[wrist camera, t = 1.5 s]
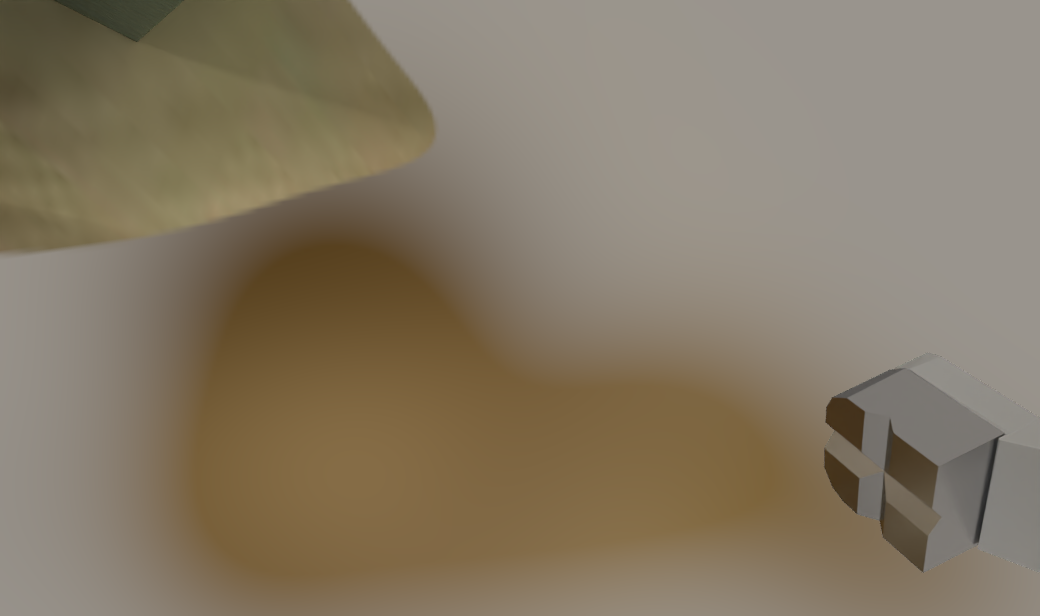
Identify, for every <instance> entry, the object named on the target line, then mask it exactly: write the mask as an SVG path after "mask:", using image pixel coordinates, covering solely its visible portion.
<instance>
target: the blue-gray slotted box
mask: <svg viewBox="0 0 1040 616" xmlns="http://www.w3.org/2000/svg"><path fill="white" fill-rule="evenodd" d="M55 1H57V2H59V3H61V4H63V5H65V6H67V7H69V8H71V9H73V10H75V11H77V12H79V13H81V14H83V15H85V16H87V17H89V18H91V19H93V20H95V21H97V22H99V23H101V24H103V25H105V26H107V27H109V28H111V29H113V30H115V31H117V32H118V33H120V34H122V35H124V36H126V37H128V38H130V39H132V40H134V41H136V42H137V41H139V40H140V39H141V38H142V37H143V36H144V35H145V34H146V33H148V32H149V31H150V30H151V29H152V28H153V27H154V26H155V25H157V24H158V23H159V22H160V21H161V20H162V19H163V18H164V17H166V16H167V15H168V14H169V13H170V12H171V11H172V10H173V9H175V8H176V7H177V6H178V5H179V4H180V3H181V2H182V1H184V0H55Z"/></svg>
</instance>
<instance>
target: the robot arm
mask: <svg viewBox="0 0 1040 616" xmlns="http://www.w3.org/2000/svg"><path fill="white" fill-rule="evenodd" d="M826 423H827V424H828V425H829V426H830V427H831V428H832V429H834V432H833V434H832V436H831V437H830V439H829V441H828V443H827V445H826V446H825V448H824V462H825V463H824V467H825V470H826V473H827V475H828V478H829V480H830V482H831V485H832V487H833V489H834V490H835V491H836V492H837V494H838V495H839V497H840V498H841V499H842V501H843V502H844V503H846V504H847V505H848V506H849V507H850V508H851V509H852V510H853V511H854V512H855V513H856V514H858V515H862V516H865V517H869V518H872V519H876V520H879V521H880V526H881V530H882V535H883V538H884V539H886V541H888V542H889V543H890V544H891V545H892V546H893V547H894V548H896V549H897V550H898V551H899V552H900V553H901V554H902V555H904V556H905V557H906V558H907V559H908V560H909V561H910V562H911V563H913V564H914V565H915V566H916V567H917V568H918V569H919V570H920V571H922V572H926V571H928V570H930V569H932V568H934V567H935V566H938V565H940V564H941V563H943V562H945V561H947V560H949V559H951V558H953V557H955V556H957V555H959V554H961V553H963V552H965V551H967V550H969V549H971V548H973V547H975V546H977V545H978V549H979V550H982V551H985V552H987V553H990V554H992V555H995V556H998V557H1000V558H1003V559H1005V560H1008V561H1010V562H1013V563H1016V564H1018V565H1021V566H1024V567H1026V568H1029V569H1031V570H1034V571H1037V572H1039V573H1040V417H1038V416H1037V415H1035V414H1033V413H1032V412H1030V411H1028V410H1027V409H1025V408H1024V407H1022V406H1020V405H1019V404H1017V403H1016V402H1014V401H1012V400H1011V399H1009V398H1007V397H1006V396H1004V395H1003V394H1001V393H999V392H998V391H996V390H995V389H993V388H991V387H990V386H988V385H987V384H985V383H983V382H982V381H980V380H979V379H977V378H975V377H974V376H972V375H970V374H969V373H967V372H965V371H964V370H962V369H961V368H959V367H957V366H956V365H954V364H953V363H951V362H950V361H948V360H946V359H945V358H943V357H942V356H939V355H935V354H930V353H926V354H924V355H922V356H920V357H917V358H915V359H913V360H911V361H909V362H907V363H905V364H902V365H901V366H898V367H896V368H895V369H892V370H888V371H886V372H884V373H882V374H880V375H878V376H876V377H874V378H872V379H870V380H868V381H866V382H863V383H861V384H859V385H857V386H855V387H853V388H851V389H849V390H847V391H845V392H843V393H840V394H838V395H837V396H834V397H832V399H831V400H830V402H829V404H828V405H827V407H826Z"/></svg>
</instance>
